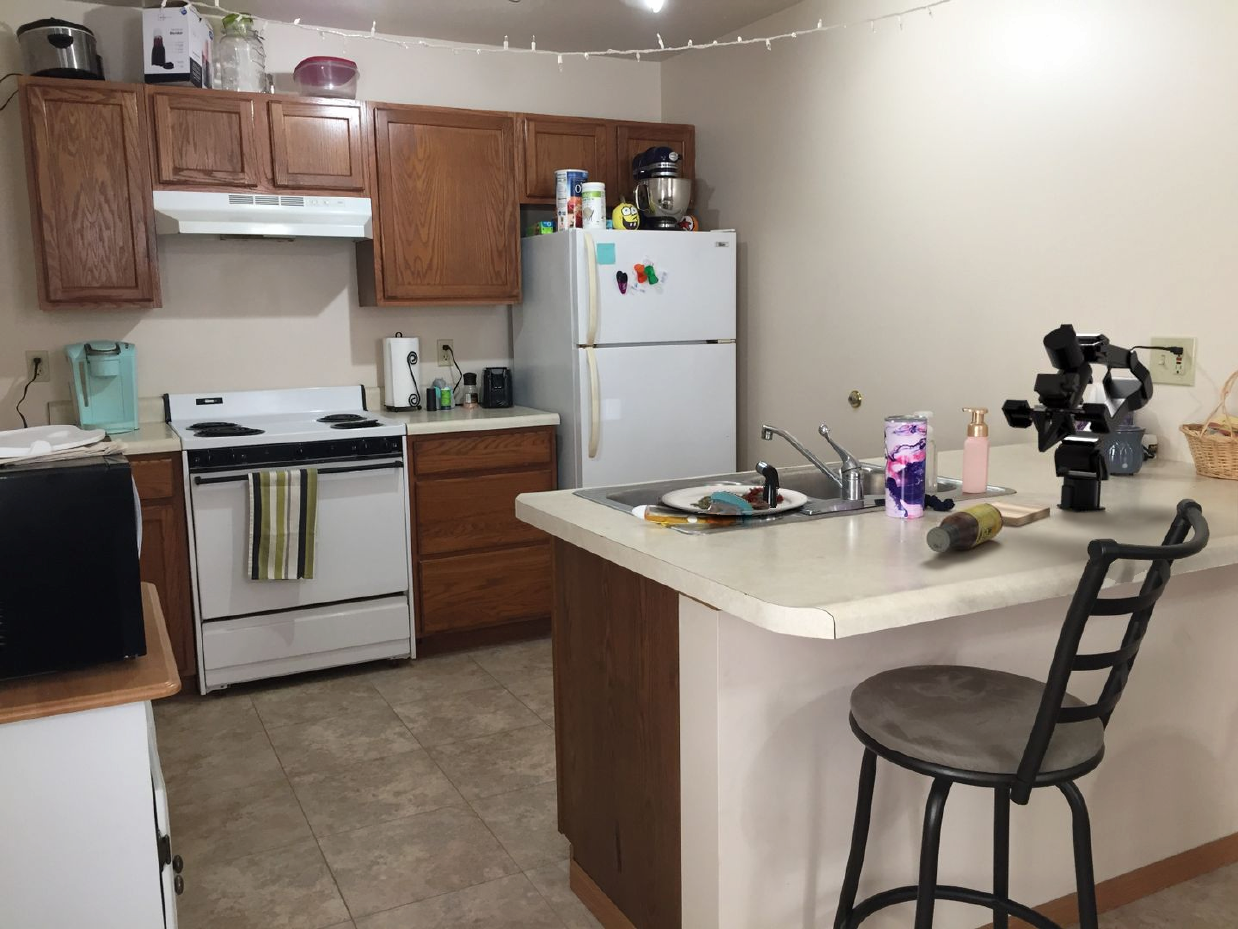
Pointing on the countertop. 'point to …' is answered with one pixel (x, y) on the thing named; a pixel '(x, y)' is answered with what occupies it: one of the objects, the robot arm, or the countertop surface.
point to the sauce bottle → (966, 528)
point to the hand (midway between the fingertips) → (1040, 450)
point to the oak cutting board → (1020, 512)
